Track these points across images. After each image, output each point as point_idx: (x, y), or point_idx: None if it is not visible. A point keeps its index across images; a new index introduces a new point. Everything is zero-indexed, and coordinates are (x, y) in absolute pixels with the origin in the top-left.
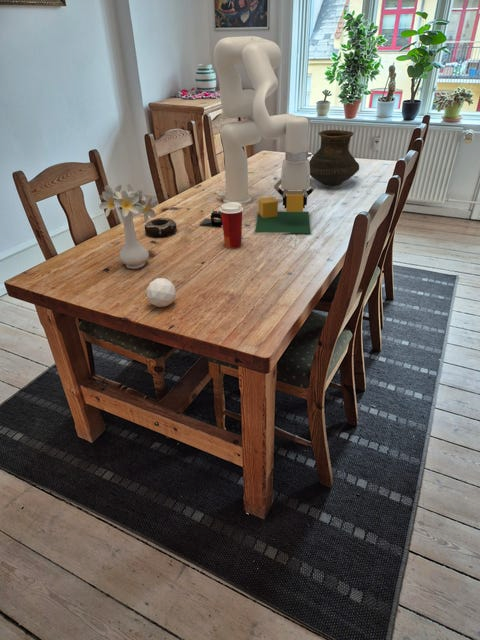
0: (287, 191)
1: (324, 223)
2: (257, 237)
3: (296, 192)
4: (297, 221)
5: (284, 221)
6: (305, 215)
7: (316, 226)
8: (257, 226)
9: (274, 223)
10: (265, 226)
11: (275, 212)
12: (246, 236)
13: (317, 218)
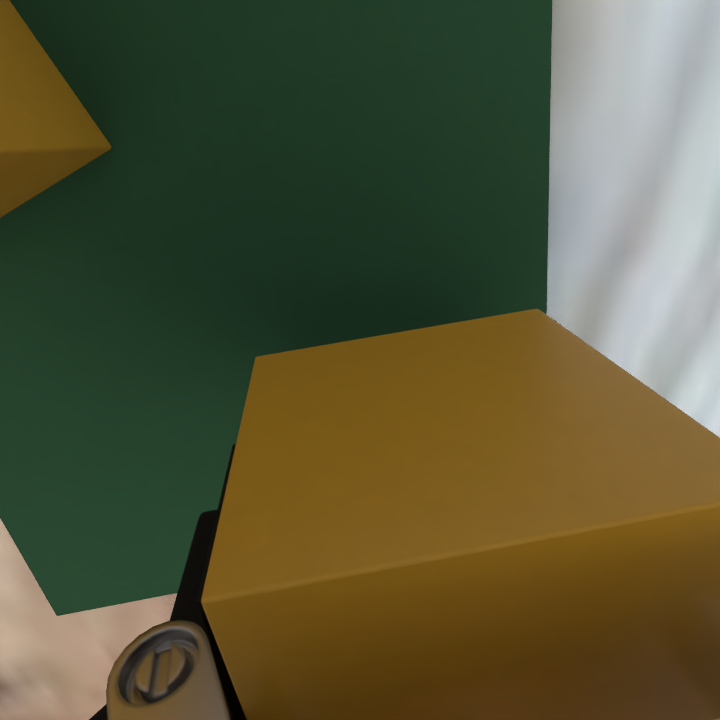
0: (255, 675)
1: (700, 235)
2: (116, 646)
3: (552, 692)
4: (410, 284)
5: (257, 312)
6: (505, 29)
7: (605, 334)
8: (8, 501)
9: (159, 392)
10: (93, 483)
11: (57, 169)
12: (14, 652)
13: (650, 70)
